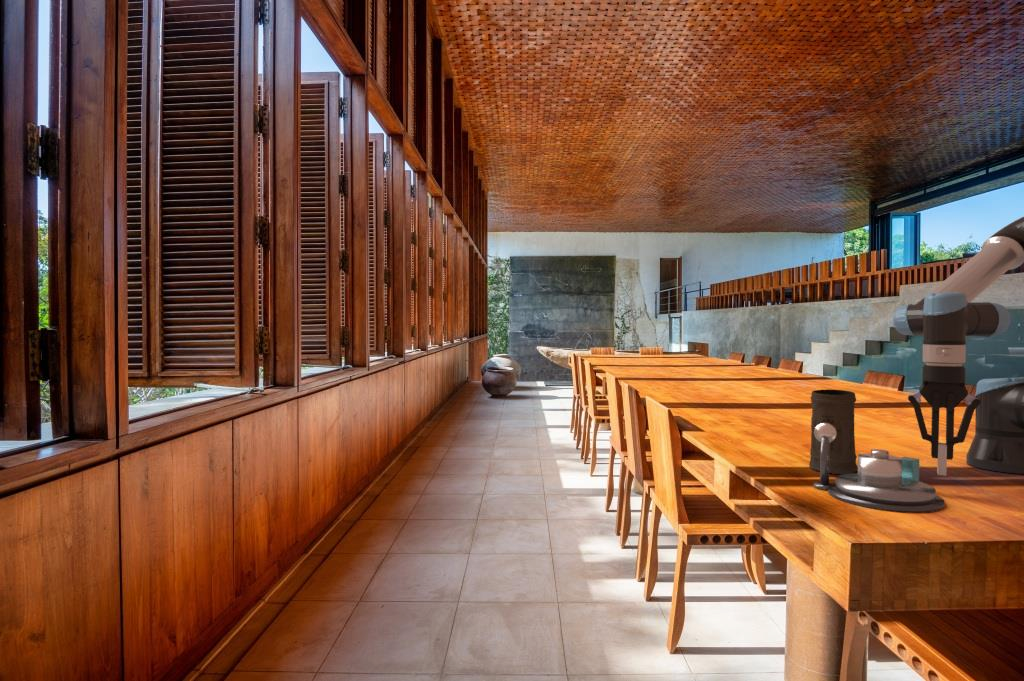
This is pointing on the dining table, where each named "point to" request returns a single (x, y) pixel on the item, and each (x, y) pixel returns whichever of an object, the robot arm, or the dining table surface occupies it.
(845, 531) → the dining table surface
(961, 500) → the dining table surface
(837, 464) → the beer stein
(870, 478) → the cover
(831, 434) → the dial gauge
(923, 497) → the turntable
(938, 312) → the robot arm
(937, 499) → the base plate
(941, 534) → the dining table surface
